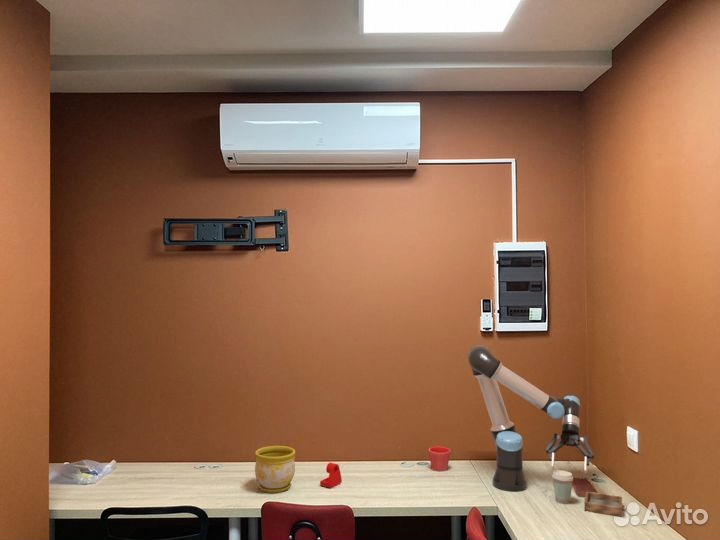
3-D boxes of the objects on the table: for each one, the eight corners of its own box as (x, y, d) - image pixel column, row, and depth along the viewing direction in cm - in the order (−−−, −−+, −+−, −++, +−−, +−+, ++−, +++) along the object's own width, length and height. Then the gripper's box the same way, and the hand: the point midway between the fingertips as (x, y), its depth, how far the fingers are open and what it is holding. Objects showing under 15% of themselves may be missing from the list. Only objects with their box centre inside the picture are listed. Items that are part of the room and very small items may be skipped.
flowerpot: (246, 491, 243) (247, 454, 243) (267, 478, 259) (268, 443, 260) (282, 497, 236) (282, 459, 237) (301, 484, 253) (302, 448, 253)
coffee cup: (557, 496, 242) (557, 468, 242) (576, 501, 235) (576, 473, 236) (548, 501, 236) (548, 472, 236) (567, 506, 230) (567, 477, 230)
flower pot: (451, 472, 271) (452, 452, 271) (429, 472, 271) (429, 452, 272) (448, 465, 282) (448, 446, 282) (427, 465, 282) (427, 446, 282)
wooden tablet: (601, 500, 238) (601, 496, 239) (577, 498, 241) (577, 494, 241) (589, 479, 265) (589, 476, 265) (567, 478, 267) (567, 474, 267)
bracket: (331, 480, 258) (331, 459, 258) (341, 483, 254) (341, 461, 255) (319, 486, 251) (319, 464, 251) (329, 489, 247) (330, 466, 247)
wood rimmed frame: (584, 511, 225) (584, 502, 226) (586, 499, 238) (586, 491, 238) (622, 517, 219) (622, 508, 220) (622, 505, 232) (621, 496, 232)
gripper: (599, 434, 254) (599, 477, 240) (543, 428, 264) (540, 469, 250) (599, 425, 249) (599, 469, 235) (542, 419, 259) (538, 461, 245)
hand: (568, 469), depth 243 cm, fingers open, 13 cm apart
